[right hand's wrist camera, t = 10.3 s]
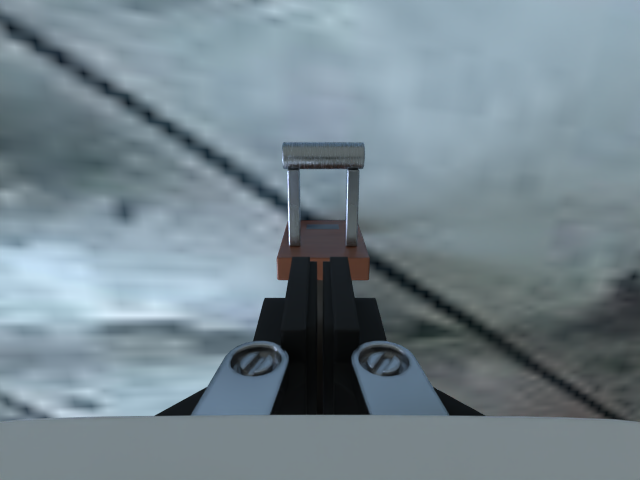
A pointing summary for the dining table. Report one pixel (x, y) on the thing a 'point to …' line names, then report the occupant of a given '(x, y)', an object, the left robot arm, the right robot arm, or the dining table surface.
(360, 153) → the drawer
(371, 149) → the dining table surface
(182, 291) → the dining table surface
